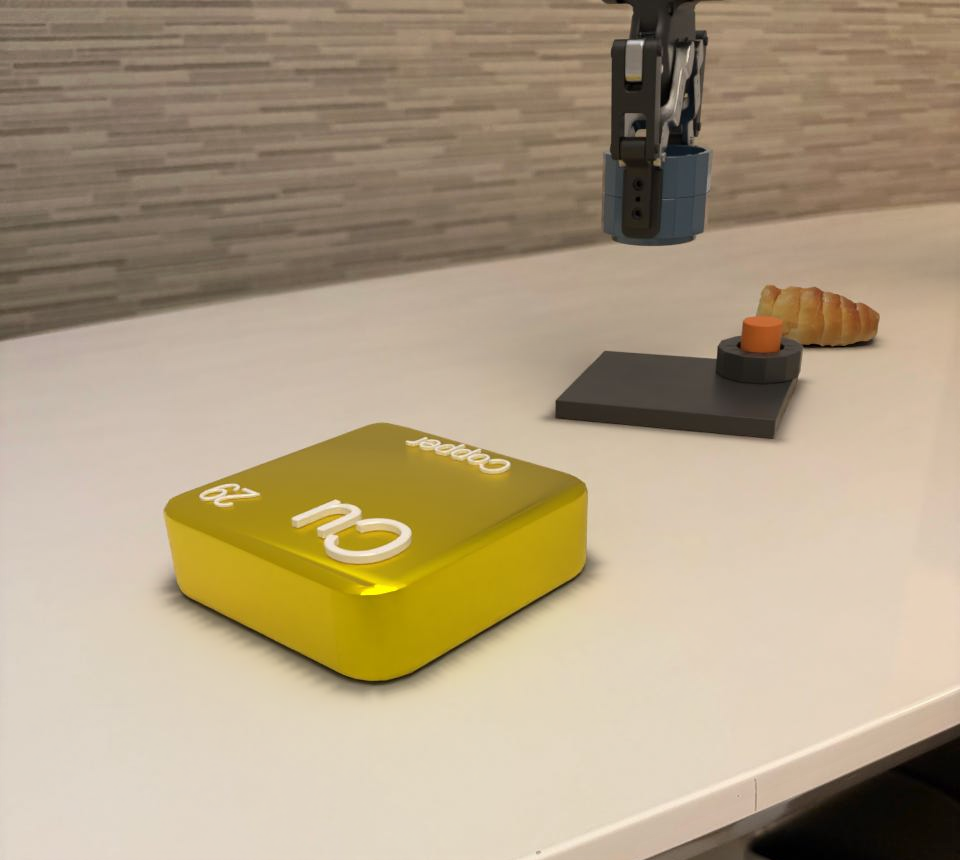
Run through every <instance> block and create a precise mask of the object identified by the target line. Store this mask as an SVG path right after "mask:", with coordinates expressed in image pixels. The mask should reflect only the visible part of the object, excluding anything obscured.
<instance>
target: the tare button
mask: <svg viewBox="0 0 960 860" xmlns="http://www.w3.org/2000/svg"><path fill="white" fill-rule="evenodd" d="M782 326H783V321H782V320H781V319H778V318H775V317H769V316H756V315H755V316H749V317H746V318H744V319H743V321H742V327H741V335H740V336H741V347H740V349H741V350H745V351H749V352H761V353H766V352H777V351H780V344H781V335H782Z"/></svg>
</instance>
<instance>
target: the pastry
mask: <svg viewBox="0 0 960 860" xmlns="http://www.w3.org/2000/svg"><path fill="white" fill-rule="evenodd" d="M758 302H759V303H758V307H757V311H756V312H755V316H769V317H775V318H778V319H781V320H782V321H783V326H782V335H781V337H783V338H787V339H791V340H795V341H797V342H798V343H800V344H801V345H807V346H809V345H811V344H815V345H819V346H821V347H822V348H823V347H824V346H831V348H832V347H834V346H843V347H845V346H847V345H852V344H855V343H857V342H869V341H870V340H872V339H874V338H875V337H876V336H877V334H878V332H879V331H878V330H879V324H880V315H881V314H880V313H879V312H878V311H876V310H875V309H873V308H872V307H871V306H869V305H867V304H865V303H864V302H861V301H860V302H854V301H852V300H851V299H849V298H847V297H845V296H844V295H840V294H838V293H834V292H830V291H824V290H821V289H820V288H818V287H817V286H810V287H800V286H793V285H791V286H788V287H786V288H778V287H777V286H776V285H774V284H766V285H765V286H764V287H763V288H762V290H761V292H760V298H759V301H758Z"/></svg>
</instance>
